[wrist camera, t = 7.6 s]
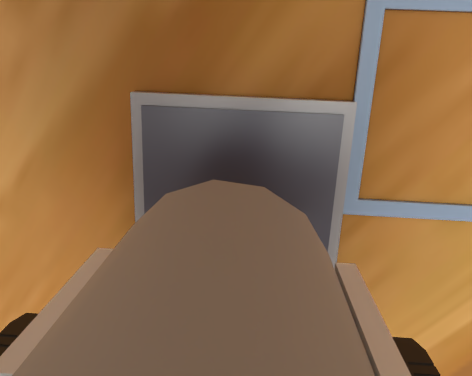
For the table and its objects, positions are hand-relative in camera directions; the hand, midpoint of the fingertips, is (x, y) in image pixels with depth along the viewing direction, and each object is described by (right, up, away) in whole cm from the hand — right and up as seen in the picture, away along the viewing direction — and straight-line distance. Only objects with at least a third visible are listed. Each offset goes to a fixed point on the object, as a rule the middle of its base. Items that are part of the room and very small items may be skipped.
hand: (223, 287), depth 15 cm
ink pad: (+1, +3, +10) cm, 10 cm away
